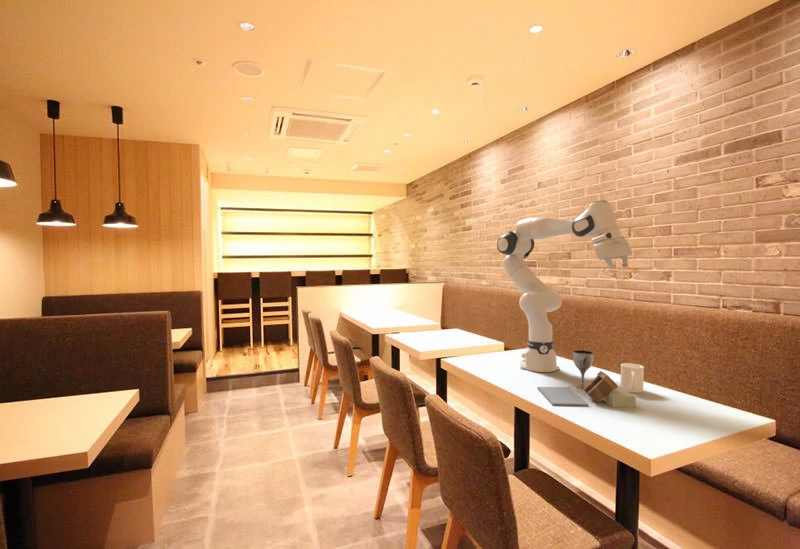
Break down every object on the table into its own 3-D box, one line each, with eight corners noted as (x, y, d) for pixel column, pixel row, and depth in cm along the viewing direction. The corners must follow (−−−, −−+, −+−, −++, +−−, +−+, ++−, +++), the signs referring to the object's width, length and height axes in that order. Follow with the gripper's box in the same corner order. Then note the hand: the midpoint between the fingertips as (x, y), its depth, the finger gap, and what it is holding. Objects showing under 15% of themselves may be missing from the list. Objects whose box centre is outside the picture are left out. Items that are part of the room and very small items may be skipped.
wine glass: (569, 386, 172) (569, 351, 172) (576, 382, 178) (577, 348, 177) (588, 390, 167) (589, 354, 166) (595, 386, 172) (596, 351, 172)
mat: (537, 388, 169) (537, 386, 169) (569, 389, 169) (569, 387, 169) (552, 405, 149) (552, 403, 149) (588, 406, 149) (588, 404, 149)
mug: (645, 397, 159) (646, 371, 159) (621, 394, 162) (622, 368, 162) (642, 388, 170) (642, 364, 169) (619, 386, 173) (620, 362, 173)
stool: (582, 398, 157) (582, 370, 157) (611, 398, 157) (611, 370, 156) (588, 403, 152) (588, 374, 151) (618, 403, 151) (618, 374, 151)
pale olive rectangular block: (598, 396, 160) (599, 386, 160) (619, 396, 160) (619, 386, 159) (612, 406, 148) (613, 396, 148) (635, 407, 148) (635, 396, 147)
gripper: (616, 238, 178) (626, 268, 176) (588, 240, 168) (598, 272, 165) (630, 233, 173) (640, 264, 171) (602, 235, 163) (612, 268, 160)
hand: (619, 268), depth 168 cm, fingers open, 8 cm apart
